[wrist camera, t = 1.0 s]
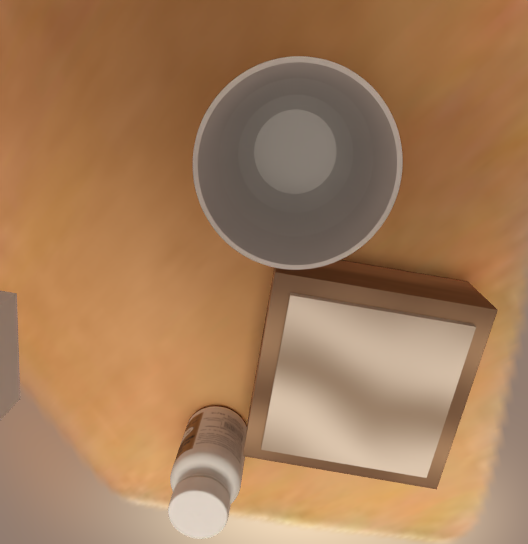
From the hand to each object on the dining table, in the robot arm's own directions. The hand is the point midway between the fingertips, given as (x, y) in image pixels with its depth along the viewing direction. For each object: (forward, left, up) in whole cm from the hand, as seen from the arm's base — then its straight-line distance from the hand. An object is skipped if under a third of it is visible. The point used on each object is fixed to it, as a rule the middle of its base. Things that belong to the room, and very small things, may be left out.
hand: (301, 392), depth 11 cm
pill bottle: (+16, -3, -20) cm, 26 cm away
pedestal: (+8, +5, -20) cm, 22 cm away
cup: (-4, -1, -20) cm, 20 cm away
